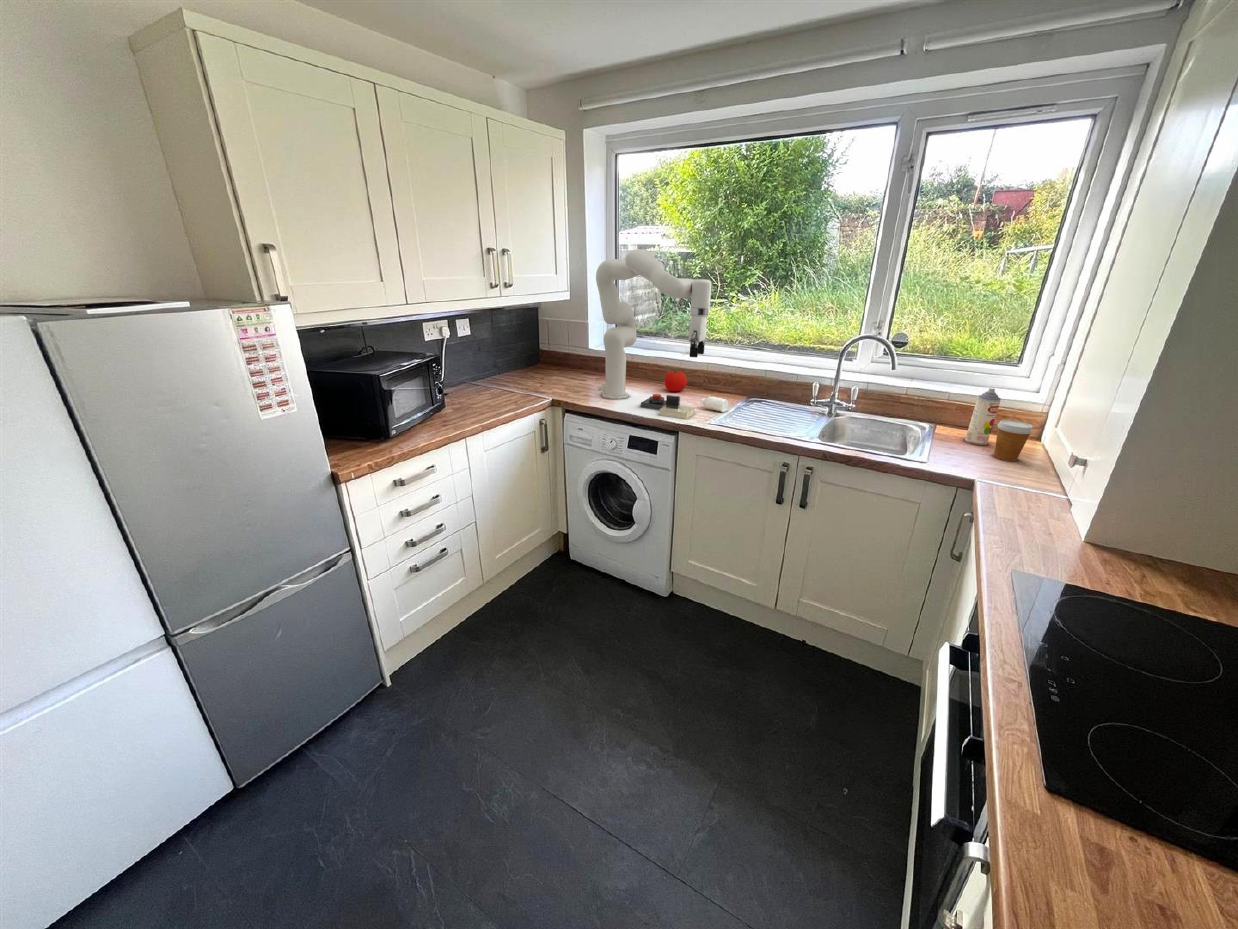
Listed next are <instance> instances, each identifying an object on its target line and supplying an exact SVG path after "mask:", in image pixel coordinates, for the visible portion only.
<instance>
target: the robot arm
mask: <svg viewBox="0 0 1238 929" xmlns="http://www.w3.org/2000/svg"><path fill="white" fill-rule="evenodd" d="M638 276H641V277H643V278H644V279H646V280H648V281H649V282H651V283H652V285H653V286H654V287H655V288H656V289H657V290H658V291H660V292H661V293H663V294H665V295H666V296H668V297H670V298H673V299H675V300H678V299H690V312H689V313H690V314H689V316H690V322H689V330H688V338H687V340H688V342H689V344H690V345H689V358H695V359H696V358H698V356H699V355H704V354H705V344H706V341H705V340H706V337H707V329H708V328H707V327H708V324H707V323H708V322H707V321H708V317H710V311H711V310H710V308H711V297H712V296H711V295H712V281H711V280H710V279H705V278H704V279H701V278H700V279H697V278H696V279H693V278H687V277H685V278H683V277H682V278H681V277H680V278H678V277H676V276H674V275H672V274H671V273H669V272H667V271H666V270H665V264H664V262H662V261H660V260H658V259H656V258H655V255H654V254H653V253H652V252H651V251H650V250H647V249H638V248H637V249H635V248H634V249H632V250H629V251H628V252H627V253H626V256H625V259H624V258H623V259H619V258H609V259H605V260H603V261H602V262H600V264H599V265H598V267H597V269H596V272H595V283H596V286H597V290H598V295H599V301H600V306H601V313H602V318H603V321H604V322H605V323H606V324H608V325H616V326H615V327H611V328H609V329H607V330H606V331H605V332H604V335H603V345H604V352H605V353H604V354H605V365H604V366H605V370H604V372H605V373H604V376H605V377H604V384H605V385H599V384H598V386H597V390H598V391H602V393H601V397H602V398H605V399H611V400H624V399H627V398H629V393H628V392H626V383H627V382H626V381H627V379H626V377H627V355H626V351H625V348H628V347H631V346H632V347H633V345H635V344H636V341H637V338H638V337H637V336H638V334H637V327H636V320H635V313H634V310H633V308H632V306H631V305H630V304H629V303H628V302H626V301H620V294H619V290H618V287H617V285H616V284H615V281H628V280H630V279H633V278H635V277H636V278H637V277H638Z"/></svg>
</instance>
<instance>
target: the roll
mask: <svg viewBox="0 0 1238 929" xmlns="http://www.w3.org/2000/svg"><path fill="white" fill-rule="evenodd" d="M699 402H700V403H701V404H702V405H703V406H704V408H706V409H708V410H712V411H717V412H721V413H725V412H726V411H727V409H728V408H729V400H728V399H724V398H721V397H716V396H707V397H704V398H700V399H699Z"/></svg>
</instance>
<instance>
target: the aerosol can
mask: <svg viewBox="0 0 1238 929" xmlns="http://www.w3.org/2000/svg"><path fill="white" fill-rule="evenodd" d="M1000 404H1001V397H999V395H998V394H997V392H996V388H993V387H989V388H988V389H987V391H984V392H982V394H979V395H978V397H977V398H976V401H975V405H974V408H973V412H972V415H971V417H970V418H971V419H970V421H969V425H968V429H967V432H966V436H965V439H964V442H965V443H967V444H970V445H973V446H974V445H975V446H987V445H988V443H989V439H990V436H991V433H992V429H993V428H994V427H993V426H994V424H995V420H996V417H997V414H998V410H999V408H1000Z"/></svg>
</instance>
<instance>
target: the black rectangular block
mask: <svg viewBox="0 0 1238 929" xmlns="http://www.w3.org/2000/svg"><path fill="white" fill-rule="evenodd" d="M665 400H666V407H668V408H675V409H679V408H680V406H681V395H675V394H674V395H673V394H667V395H666V399H665Z"/></svg>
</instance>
